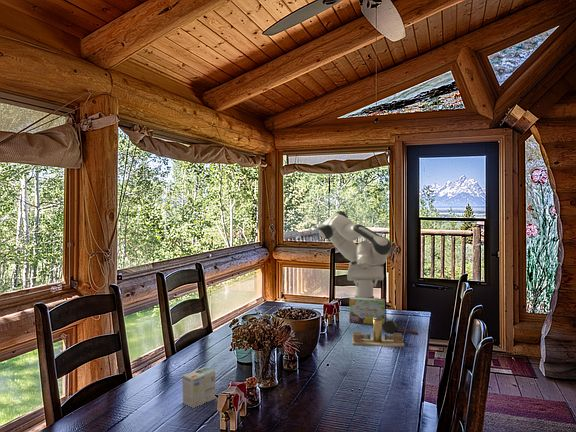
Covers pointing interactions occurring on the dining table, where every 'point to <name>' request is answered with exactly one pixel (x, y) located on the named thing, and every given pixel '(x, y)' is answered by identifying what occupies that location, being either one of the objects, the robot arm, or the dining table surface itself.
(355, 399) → the dining table surface
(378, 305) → the snack box
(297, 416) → the dining table surface
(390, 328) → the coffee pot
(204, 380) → the light bulb box
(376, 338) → the coupler
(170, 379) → the dining table surface
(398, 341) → the shaft rig
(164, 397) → the dining table surface
